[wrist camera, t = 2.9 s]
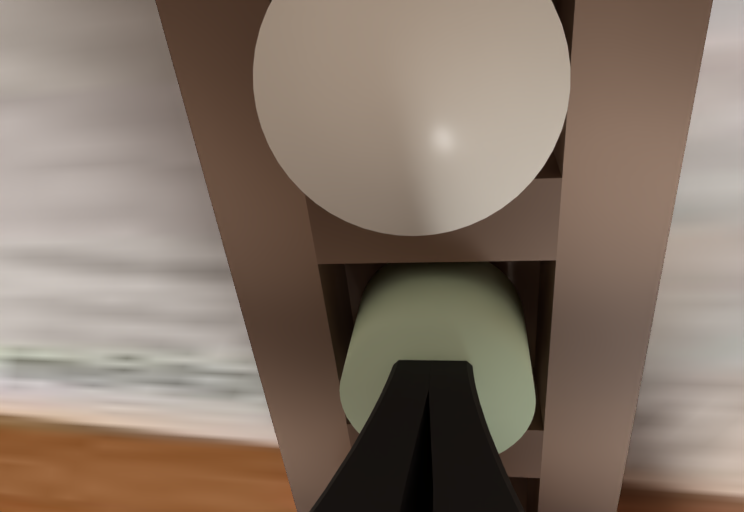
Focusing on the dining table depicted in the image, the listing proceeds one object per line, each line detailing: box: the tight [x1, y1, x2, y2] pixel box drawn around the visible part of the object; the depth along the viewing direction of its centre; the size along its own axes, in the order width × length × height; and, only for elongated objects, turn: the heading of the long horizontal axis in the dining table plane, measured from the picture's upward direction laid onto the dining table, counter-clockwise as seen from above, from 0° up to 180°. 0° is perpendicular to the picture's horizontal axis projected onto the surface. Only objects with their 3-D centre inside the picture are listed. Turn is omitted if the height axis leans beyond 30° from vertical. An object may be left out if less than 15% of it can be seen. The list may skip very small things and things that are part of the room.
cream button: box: [253, 0, 570, 236], centre depth 8 cm, size 4×4×2 cm
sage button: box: [339, 261, 536, 454], centre depth 12 cm, size 4×4×2 cm
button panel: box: [155, 0, 713, 512], centre depth 13 cm, size 19×8×3 cm, turn 6°
